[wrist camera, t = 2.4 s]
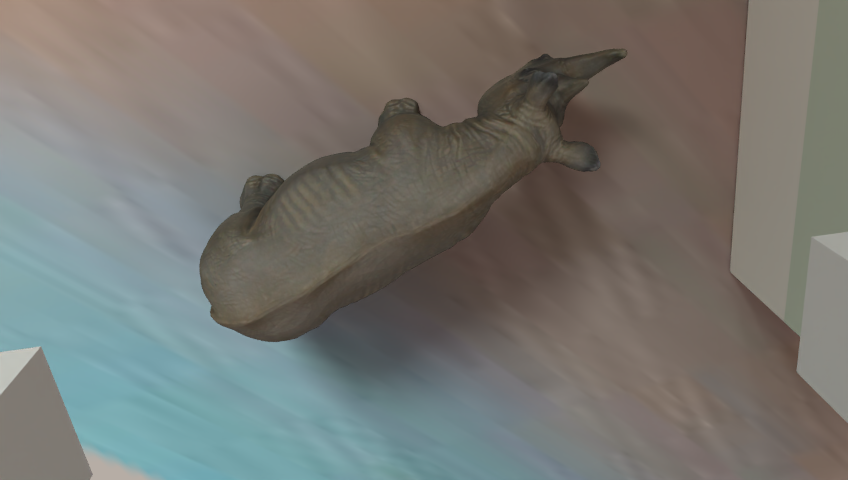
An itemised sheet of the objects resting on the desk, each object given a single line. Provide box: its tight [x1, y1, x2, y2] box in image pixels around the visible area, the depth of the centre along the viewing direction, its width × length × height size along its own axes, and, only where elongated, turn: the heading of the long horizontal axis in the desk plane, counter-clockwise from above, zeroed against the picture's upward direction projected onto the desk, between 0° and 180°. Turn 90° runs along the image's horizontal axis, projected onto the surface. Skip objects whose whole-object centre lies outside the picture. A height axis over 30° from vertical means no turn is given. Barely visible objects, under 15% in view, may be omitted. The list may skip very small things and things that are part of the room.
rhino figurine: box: [199, 49, 627, 342], centre depth 19 cm, size 4×14×6 cm, turn 119°
